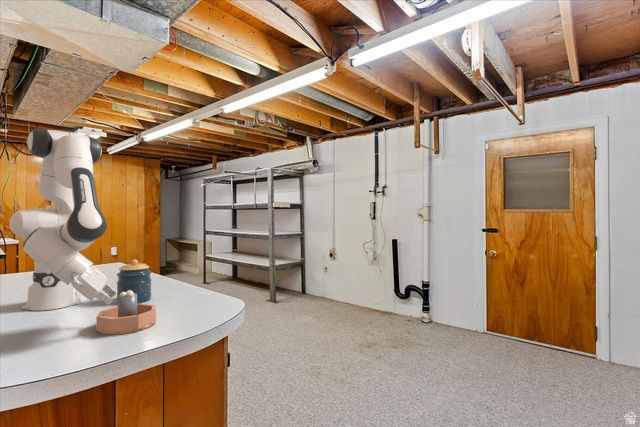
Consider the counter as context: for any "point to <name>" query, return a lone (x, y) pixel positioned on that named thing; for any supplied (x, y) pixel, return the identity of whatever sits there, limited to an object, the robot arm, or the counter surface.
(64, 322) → the counter surface
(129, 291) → the pebble cup
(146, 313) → the terracotta bowl
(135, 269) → the canister
